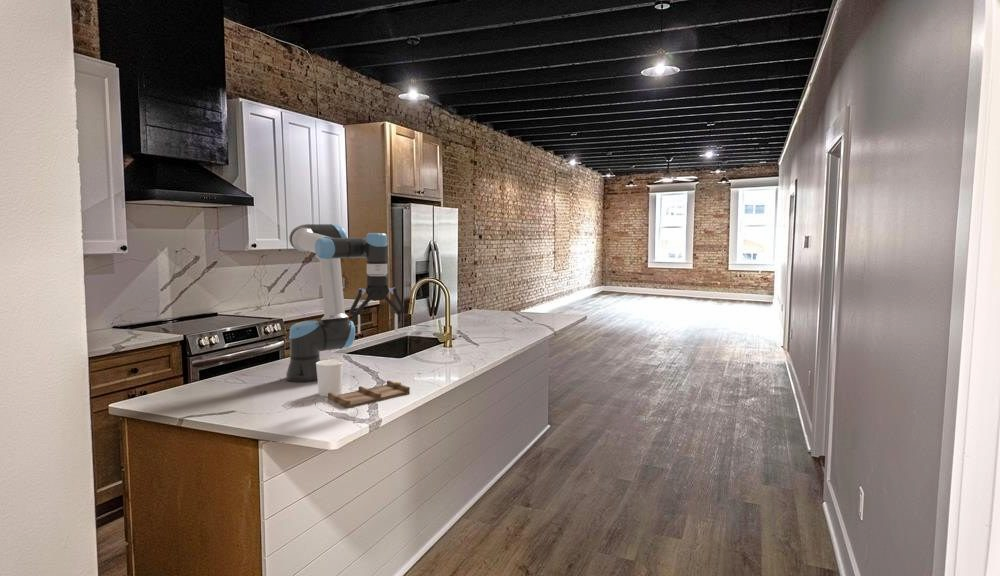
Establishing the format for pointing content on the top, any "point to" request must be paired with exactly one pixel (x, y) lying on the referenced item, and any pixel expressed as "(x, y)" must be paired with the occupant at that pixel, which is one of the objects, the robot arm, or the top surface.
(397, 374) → the top surface
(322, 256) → the robot arm
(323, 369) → the candle holder
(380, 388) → the brown wooden flat tray
